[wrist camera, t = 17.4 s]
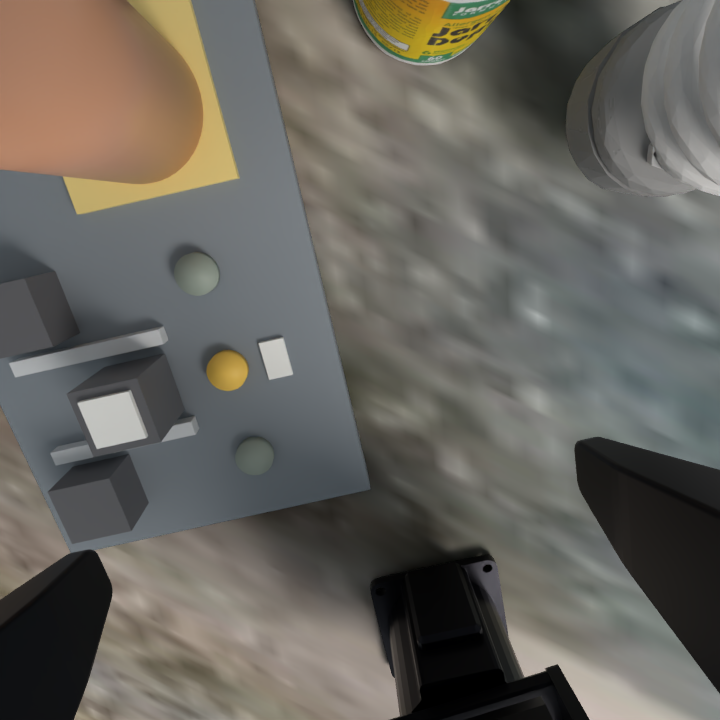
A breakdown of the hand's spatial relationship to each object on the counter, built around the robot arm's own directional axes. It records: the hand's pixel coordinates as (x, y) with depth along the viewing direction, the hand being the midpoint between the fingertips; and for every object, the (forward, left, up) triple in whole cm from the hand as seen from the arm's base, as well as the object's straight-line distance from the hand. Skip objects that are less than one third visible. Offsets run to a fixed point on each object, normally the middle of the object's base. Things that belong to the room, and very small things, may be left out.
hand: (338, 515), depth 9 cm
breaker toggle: (0, +8, -12) cm, 14 cm away
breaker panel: (+3, +7, -13) cm, 15 cm away
